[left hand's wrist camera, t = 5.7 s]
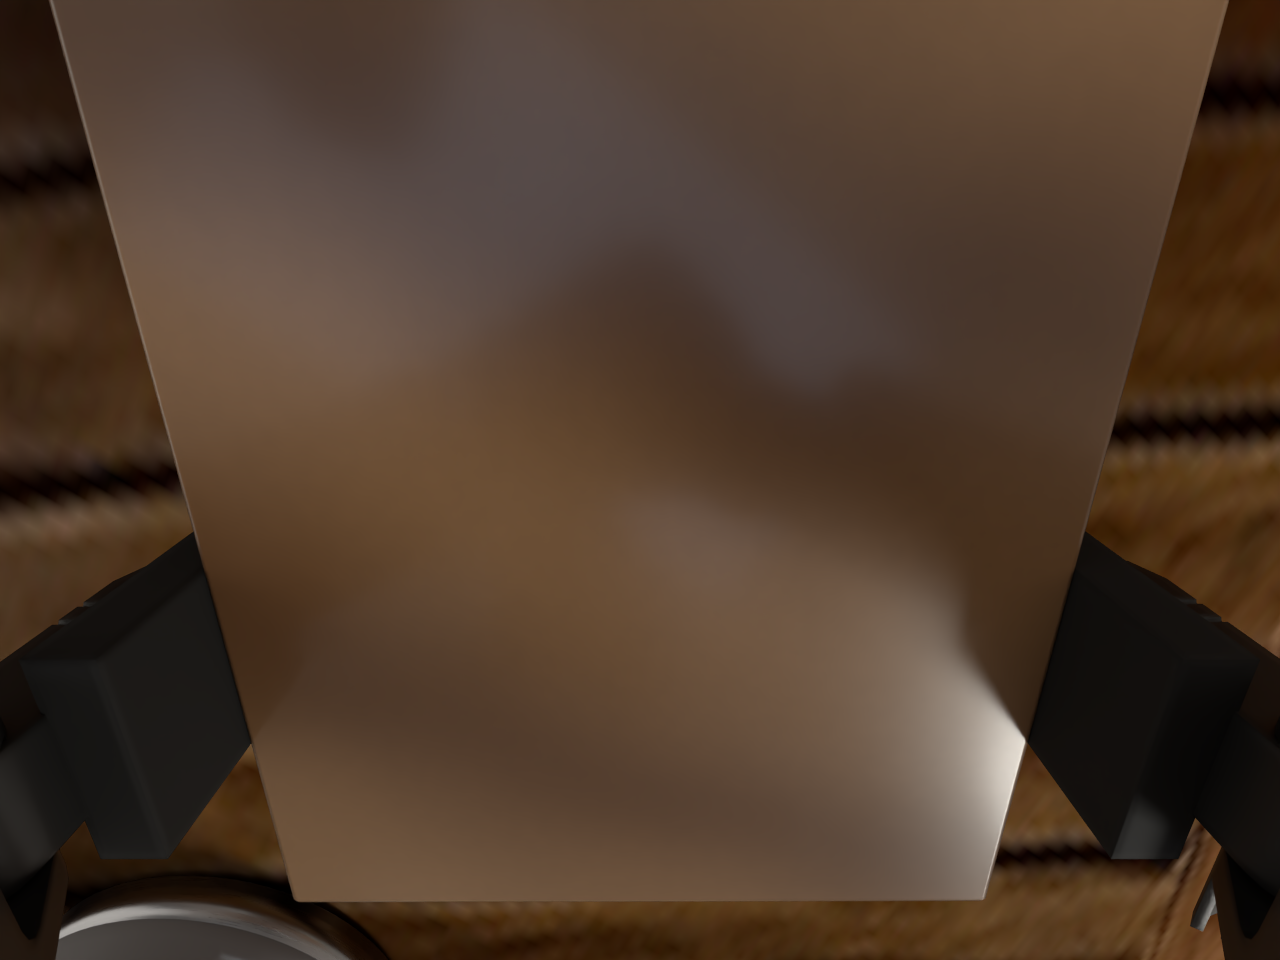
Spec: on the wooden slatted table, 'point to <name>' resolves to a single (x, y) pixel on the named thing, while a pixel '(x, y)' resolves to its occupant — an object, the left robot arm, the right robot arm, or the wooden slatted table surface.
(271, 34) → the cabinet
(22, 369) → the wooden slatted table surface
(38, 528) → the wooden slatted table surface
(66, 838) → the left robot arm
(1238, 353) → the wooden slatted table surface
